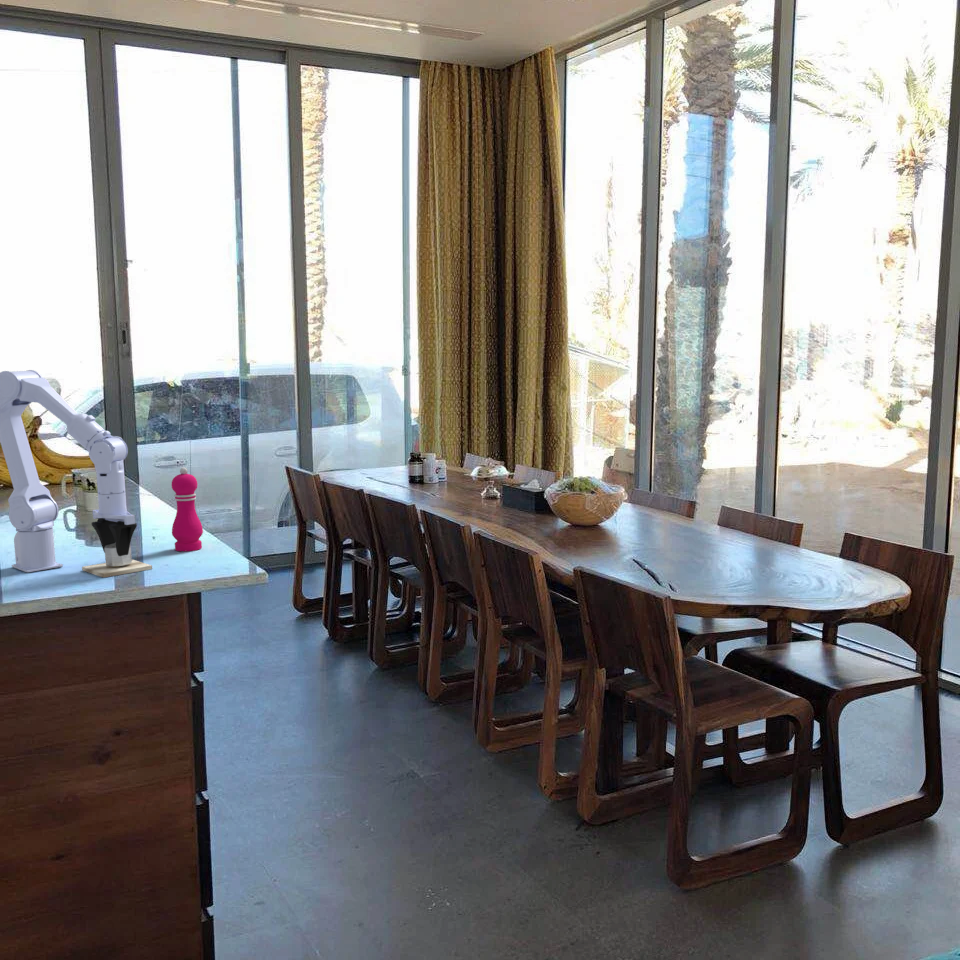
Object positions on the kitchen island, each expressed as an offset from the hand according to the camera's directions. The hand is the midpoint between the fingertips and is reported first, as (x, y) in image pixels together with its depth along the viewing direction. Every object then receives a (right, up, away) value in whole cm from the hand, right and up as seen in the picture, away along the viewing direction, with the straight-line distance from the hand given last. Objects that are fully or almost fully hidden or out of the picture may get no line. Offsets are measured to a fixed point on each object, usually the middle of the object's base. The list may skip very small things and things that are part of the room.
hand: (116, 553), depth 218 cm
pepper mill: (+9, -1, +22) cm, 24 cm away
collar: (0, -2, +1) cm, 2 cm away
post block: (0, -4, 0) cm, 4 cm away
